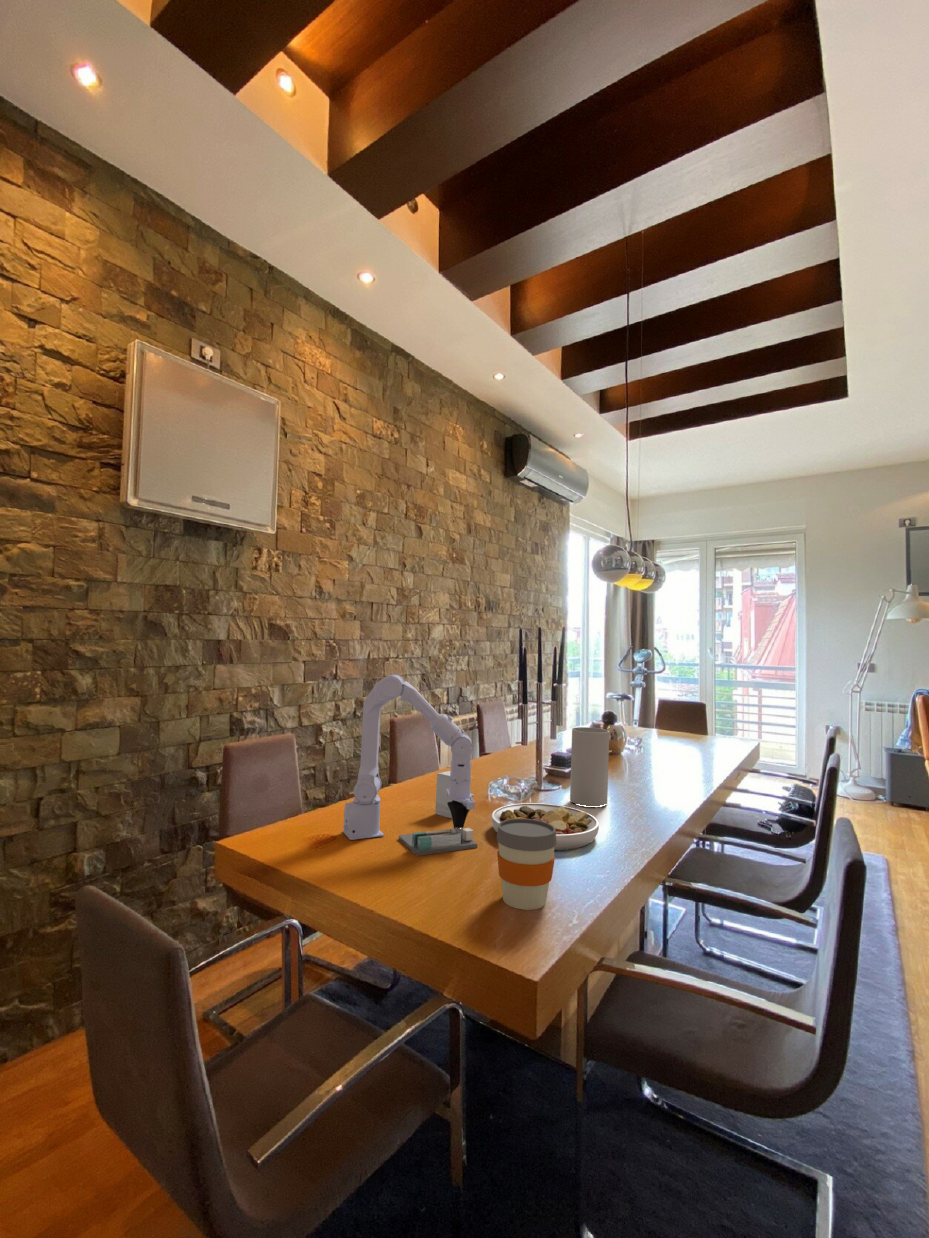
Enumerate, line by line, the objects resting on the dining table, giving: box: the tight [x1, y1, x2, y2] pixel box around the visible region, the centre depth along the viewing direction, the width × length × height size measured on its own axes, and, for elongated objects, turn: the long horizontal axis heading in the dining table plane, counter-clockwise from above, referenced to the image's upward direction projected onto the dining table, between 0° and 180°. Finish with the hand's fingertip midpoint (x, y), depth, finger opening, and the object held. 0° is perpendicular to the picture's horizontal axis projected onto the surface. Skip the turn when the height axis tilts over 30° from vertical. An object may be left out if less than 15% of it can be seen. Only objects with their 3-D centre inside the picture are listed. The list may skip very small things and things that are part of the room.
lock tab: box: [463, 827, 474, 841], centre depth 153 cm, size 2×2×2 cm
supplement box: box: [434, 770, 453, 819], centre depth 179 cm, size 7×7×13 cm
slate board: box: [398, 828, 478, 856], centre depth 152 cm, size 17×13×1 cm
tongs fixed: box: [417, 827, 464, 850], centre depth 148 cm, size 13×3×4 cm, turn 116°
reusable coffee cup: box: [496, 819, 557, 911], centre depth 121 cm, size 13×13×15 cm
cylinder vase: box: [569, 726, 610, 806], centre depth 198 cm, size 12×12×25 cm
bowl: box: [491, 802, 600, 851], centre depth 163 cm, size 30×30×8 cm
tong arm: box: [411, 828, 453, 846], centre depth 149 cm, size 10×2×3 cm, turn 114°
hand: (458, 829), depth 158 cm, fingers closed
